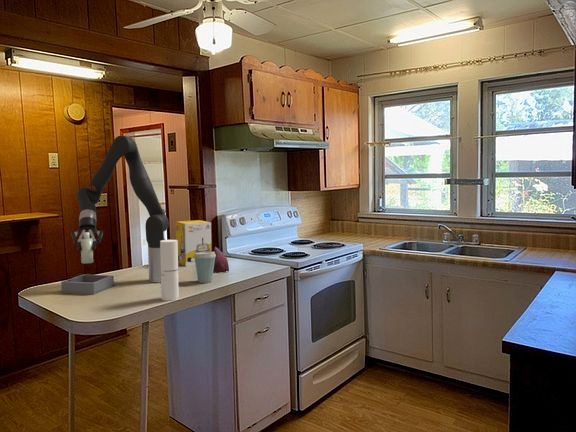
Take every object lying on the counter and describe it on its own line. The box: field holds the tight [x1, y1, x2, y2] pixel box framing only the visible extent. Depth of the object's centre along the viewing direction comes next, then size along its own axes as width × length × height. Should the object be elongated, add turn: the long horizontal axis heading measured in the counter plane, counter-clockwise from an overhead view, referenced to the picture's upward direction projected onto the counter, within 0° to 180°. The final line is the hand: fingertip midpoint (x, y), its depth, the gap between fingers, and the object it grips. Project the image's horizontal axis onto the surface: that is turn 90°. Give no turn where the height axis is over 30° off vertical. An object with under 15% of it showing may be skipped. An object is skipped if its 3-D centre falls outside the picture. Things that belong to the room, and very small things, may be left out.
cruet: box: [80, 232, 94, 264], centre depth 207 cm, size 5×5×14 cm
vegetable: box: [213, 246, 230, 274], centre depth 249 cm, size 10×10×15 cm
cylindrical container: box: [160, 239, 180, 302], centre depth 192 cm, size 7×7×25 cm
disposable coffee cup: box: [194, 251, 216, 284], centre depth 223 cm, size 11×11×15 cm
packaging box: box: [174, 219, 213, 268], centre depth 271 cm, size 16×16×25 cm
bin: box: [60, 273, 115, 295], centre depth 208 cm, size 16×16×5 cm
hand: (86, 249), depth 205 cm, fingers closed on cruet, 5 cm apart
